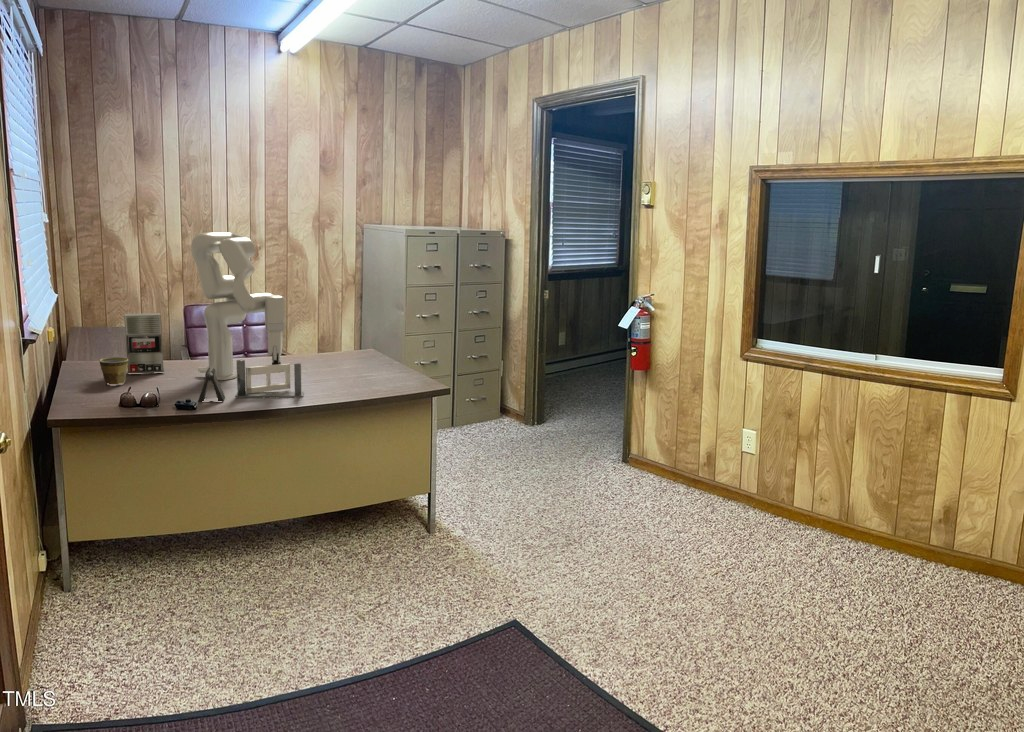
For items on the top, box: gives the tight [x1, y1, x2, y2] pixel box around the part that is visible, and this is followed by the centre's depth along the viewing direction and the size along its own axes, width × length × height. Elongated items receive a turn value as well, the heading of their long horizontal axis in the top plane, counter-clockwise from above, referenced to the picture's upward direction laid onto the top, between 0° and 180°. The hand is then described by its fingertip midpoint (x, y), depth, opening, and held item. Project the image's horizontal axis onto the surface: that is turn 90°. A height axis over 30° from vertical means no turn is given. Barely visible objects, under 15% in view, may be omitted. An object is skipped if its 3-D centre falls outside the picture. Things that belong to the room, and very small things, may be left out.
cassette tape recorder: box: [123, 312, 165, 374], centre depth 320 cm, size 14×6×25 cm, turn 114°
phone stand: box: [197, 368, 226, 403], centre depth 287 cm, size 9×6×12 cm, turn 105°
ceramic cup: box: [99, 356, 128, 384], centre depth 303 cm, size 13×10×10 cm
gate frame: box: [234, 359, 305, 399], centre depth 296 cm, size 25×6×14 cm, turn 102°
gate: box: [245, 363, 291, 393], centre depth 301 cm, size 17×2×10 cm, turn 126°
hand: (276, 372), depth 305 cm, fingers closed
